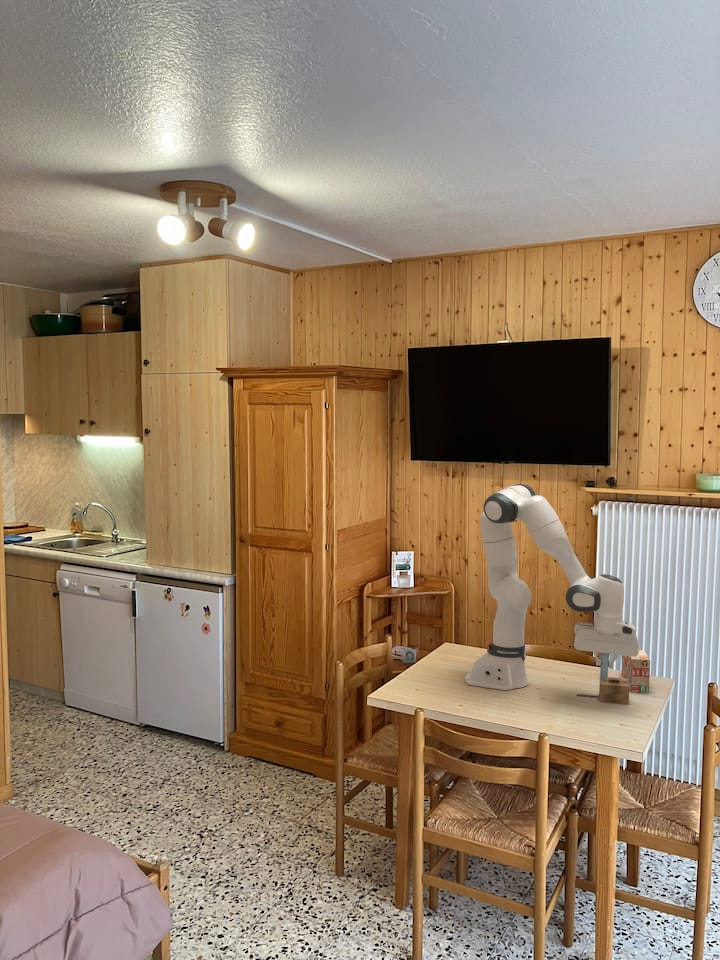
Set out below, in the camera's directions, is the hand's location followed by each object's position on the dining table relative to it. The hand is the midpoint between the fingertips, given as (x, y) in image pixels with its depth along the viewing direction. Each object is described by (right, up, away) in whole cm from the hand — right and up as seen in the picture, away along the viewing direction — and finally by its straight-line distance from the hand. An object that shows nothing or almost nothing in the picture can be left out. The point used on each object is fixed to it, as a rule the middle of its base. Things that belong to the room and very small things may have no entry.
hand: (604, 666), depth 256 cm
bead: (+6, -13, +8) cm, 16 cm away
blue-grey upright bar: (0, -4, 0) cm, 4 cm away
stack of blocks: (+18, -13, +24) cm, 33 cm away
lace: (-3, -13, +10) cm, 17 cm away
